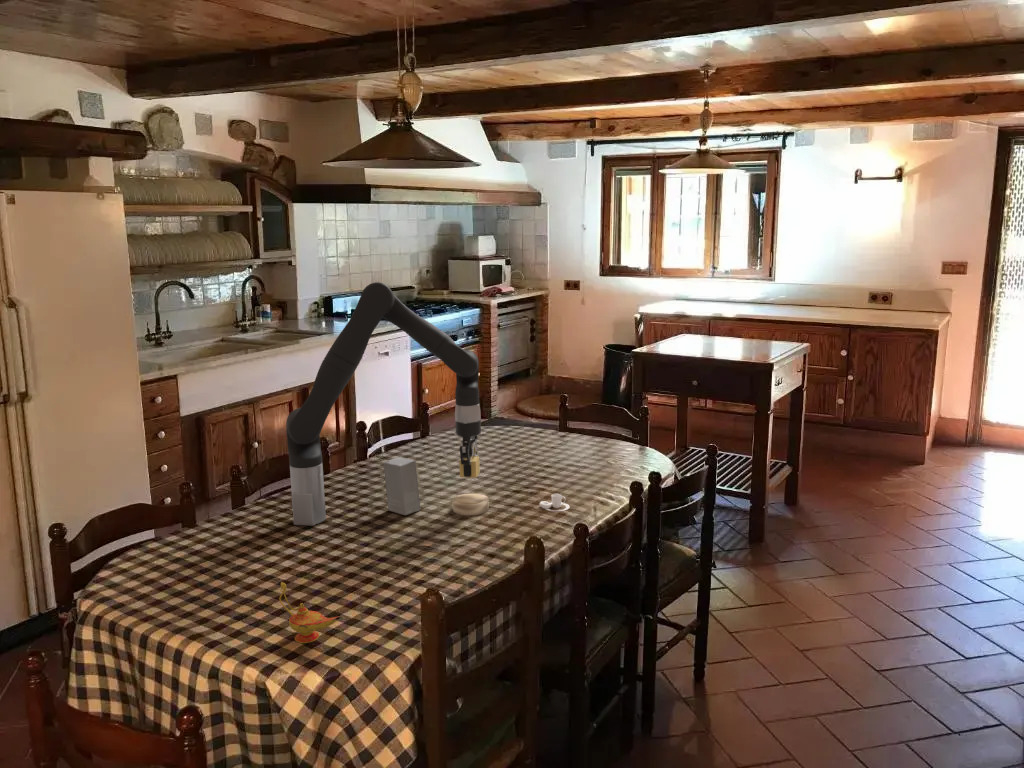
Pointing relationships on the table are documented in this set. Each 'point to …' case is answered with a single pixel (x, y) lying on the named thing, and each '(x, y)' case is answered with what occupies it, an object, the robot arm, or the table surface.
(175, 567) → the table surface
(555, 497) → the teacup and saucer
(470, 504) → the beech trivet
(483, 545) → the table surface
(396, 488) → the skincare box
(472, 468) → the ochre block
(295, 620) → the magic lamp
